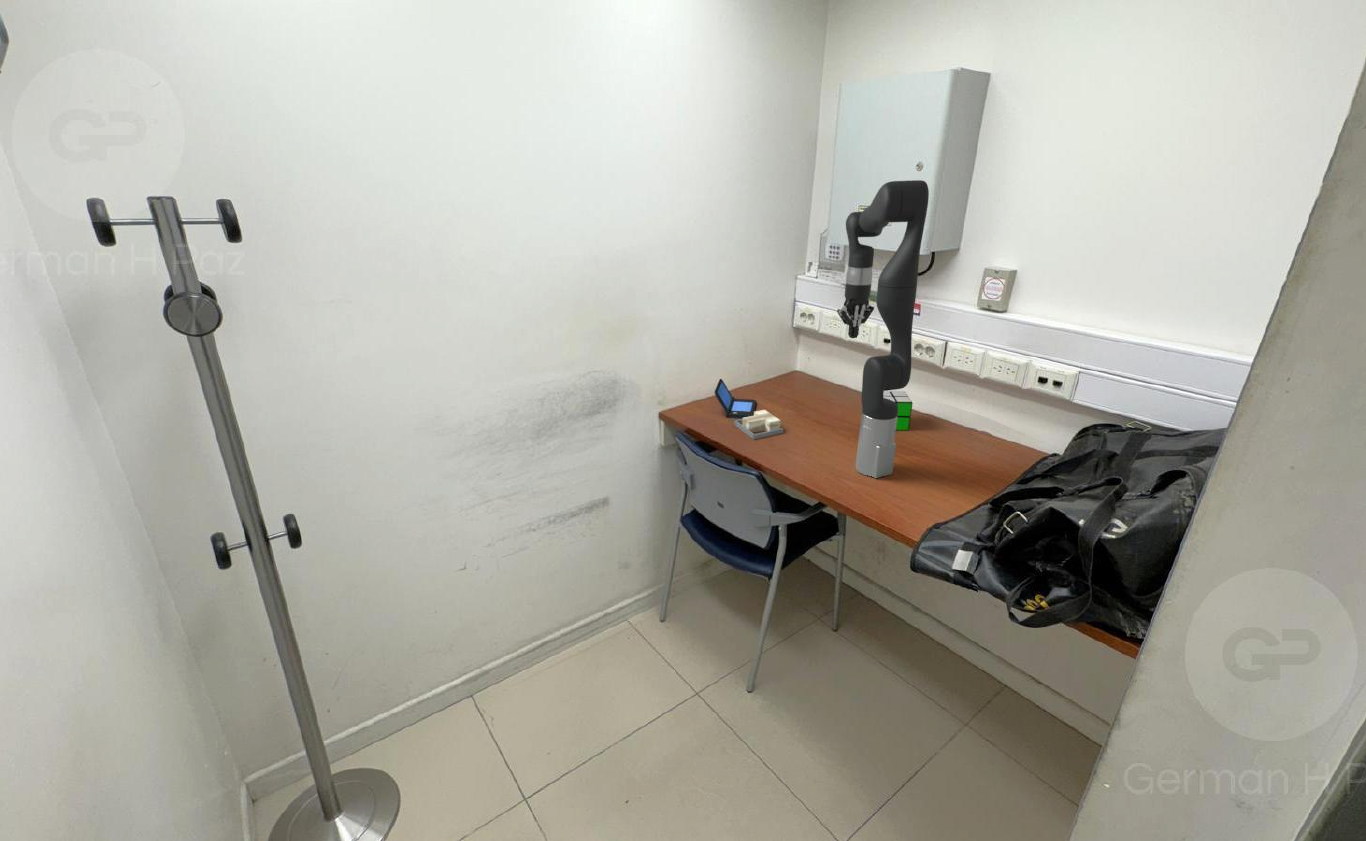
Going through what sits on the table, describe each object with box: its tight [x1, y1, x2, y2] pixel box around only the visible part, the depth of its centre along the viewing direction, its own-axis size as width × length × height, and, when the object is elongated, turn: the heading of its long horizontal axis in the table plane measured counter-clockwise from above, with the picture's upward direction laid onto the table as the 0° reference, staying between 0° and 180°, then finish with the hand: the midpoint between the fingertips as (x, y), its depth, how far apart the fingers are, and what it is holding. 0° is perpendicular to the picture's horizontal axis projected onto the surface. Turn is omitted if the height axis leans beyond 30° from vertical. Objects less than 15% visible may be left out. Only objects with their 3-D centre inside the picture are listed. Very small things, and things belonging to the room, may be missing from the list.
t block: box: [741, 409, 782, 434], centre depth 190 cm, size 10×10×4 cm
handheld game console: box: [714, 378, 757, 419], centre depth 204 cm, size 16×13×9 cm
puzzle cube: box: [883, 390, 913, 432], centre depth 190 cm, size 10×10×10 cm
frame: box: [733, 418, 784, 441], centre depth 190 cm, size 13×11×2 cm
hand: (852, 337), depth 183 cm, fingers closed
